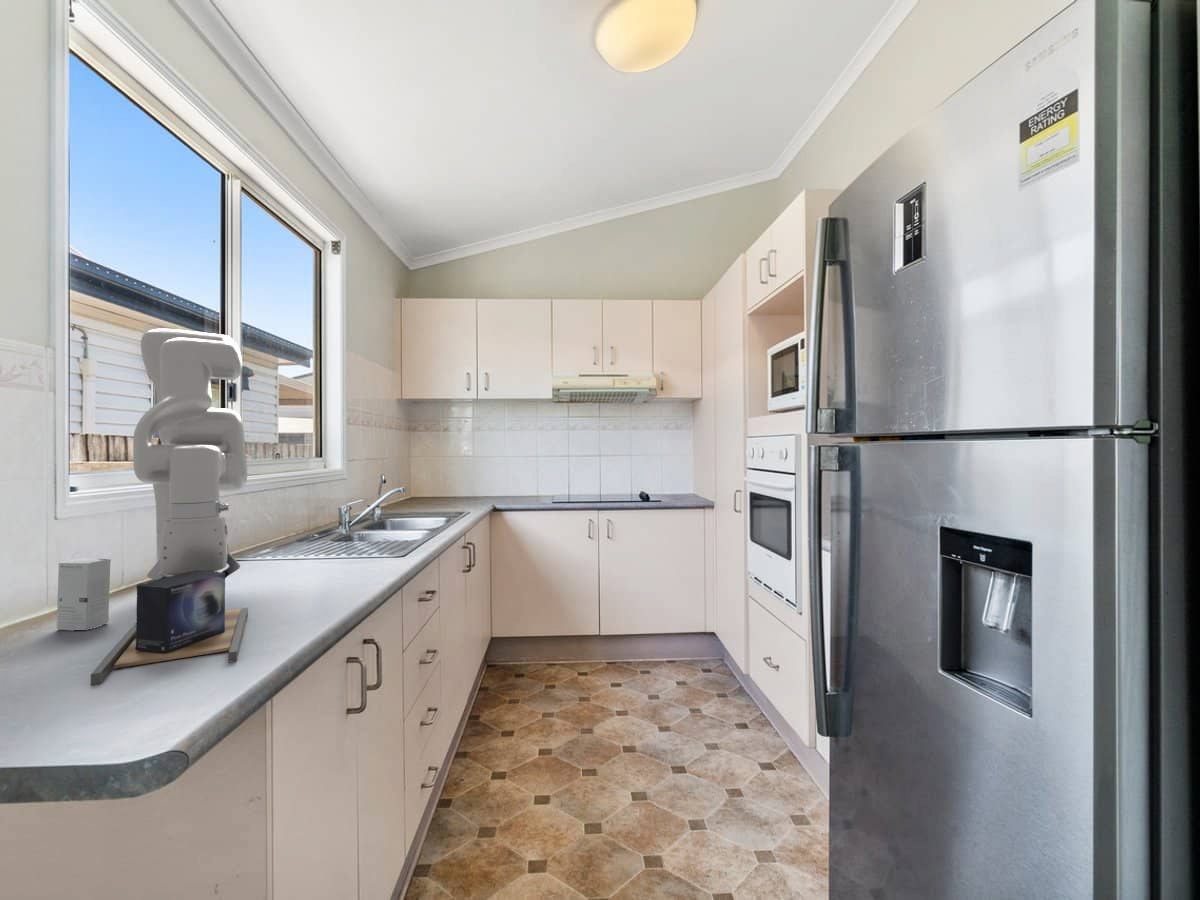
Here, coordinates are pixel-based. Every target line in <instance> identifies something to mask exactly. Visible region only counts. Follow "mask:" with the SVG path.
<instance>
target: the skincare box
mask: <svg viewBox="0 0 1200 900" xmlns="http://www.w3.org/2000/svg"><path fill="white" fill-rule="evenodd" d="M110 581H111V559H110V558H97V557H96V558H94V557H92V558H91V557H89V558H88V557H80V558H74V559H69V560H65V561H61V562H59V563H58V577H57V601H56V602H57V604H56V605H57V606H56V607H57V608H56V609H57V610H56V611H57V612H56V629H59V630H58V631H74V630H86V631H89V630H88V629H91V628H94V627H97V626H100V625H103V624H106V623H108V624H109V614H110V613H109V609H110V583H111V582H110ZM106 625H107V624H106ZM103 626H104V625H103ZM100 627H101V626H100ZM97 628H98V627H97ZM94 629H95V628H94ZM91 630H92V629H91Z"/></svg>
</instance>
